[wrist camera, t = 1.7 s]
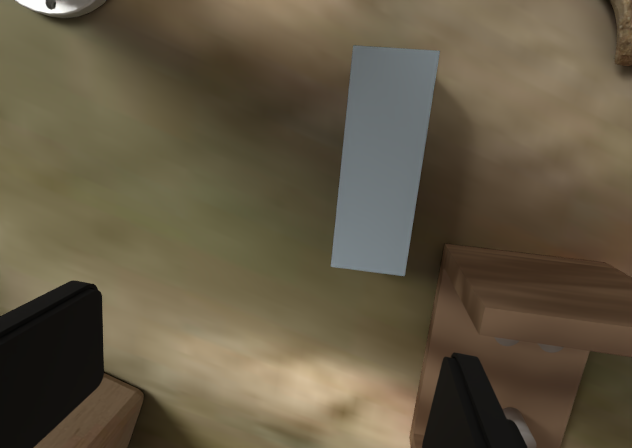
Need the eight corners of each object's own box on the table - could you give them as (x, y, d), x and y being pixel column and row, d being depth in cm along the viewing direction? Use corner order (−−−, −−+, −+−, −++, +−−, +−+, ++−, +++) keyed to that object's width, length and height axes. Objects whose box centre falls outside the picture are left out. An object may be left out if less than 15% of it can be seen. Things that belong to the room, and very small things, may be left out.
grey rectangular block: (356, 62, 28) (353, 45, 22) (425, 67, 28) (440, 50, 22) (337, 241, 32) (330, 266, 26) (398, 248, 31) (404, 276, 25)
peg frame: (444, 243, 30) (485, 307, 20) (605, 262, 29) (744, 342, 18) (409, 437, 35) (426, 573, 24) (545, 461, 34) (627, 617, 23)
